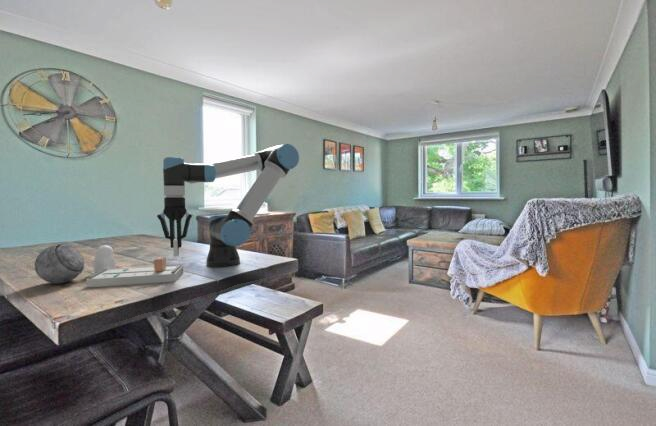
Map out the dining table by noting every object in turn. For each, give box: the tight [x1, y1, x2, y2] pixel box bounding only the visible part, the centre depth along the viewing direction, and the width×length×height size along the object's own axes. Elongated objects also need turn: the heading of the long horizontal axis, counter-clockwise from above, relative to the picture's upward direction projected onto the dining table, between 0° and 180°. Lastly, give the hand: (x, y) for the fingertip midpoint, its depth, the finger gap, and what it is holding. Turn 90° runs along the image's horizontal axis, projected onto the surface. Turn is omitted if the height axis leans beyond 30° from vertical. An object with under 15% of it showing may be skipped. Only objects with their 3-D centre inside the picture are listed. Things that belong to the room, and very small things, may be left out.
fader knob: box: [153, 256, 167, 272], centre depth 131 cm, size 3×5×5 cm, turn 12°
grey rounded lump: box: [34, 243, 85, 284], centre depth 126 cm, size 15×14×15 cm
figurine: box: [93, 244, 117, 274], centre depth 140 cm, size 7×8×12 cm
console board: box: [85, 264, 184, 288], centre depth 130 cm, size 30×14×4 cm, turn 102°
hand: (176, 255), depth 132 cm, fingers closed
